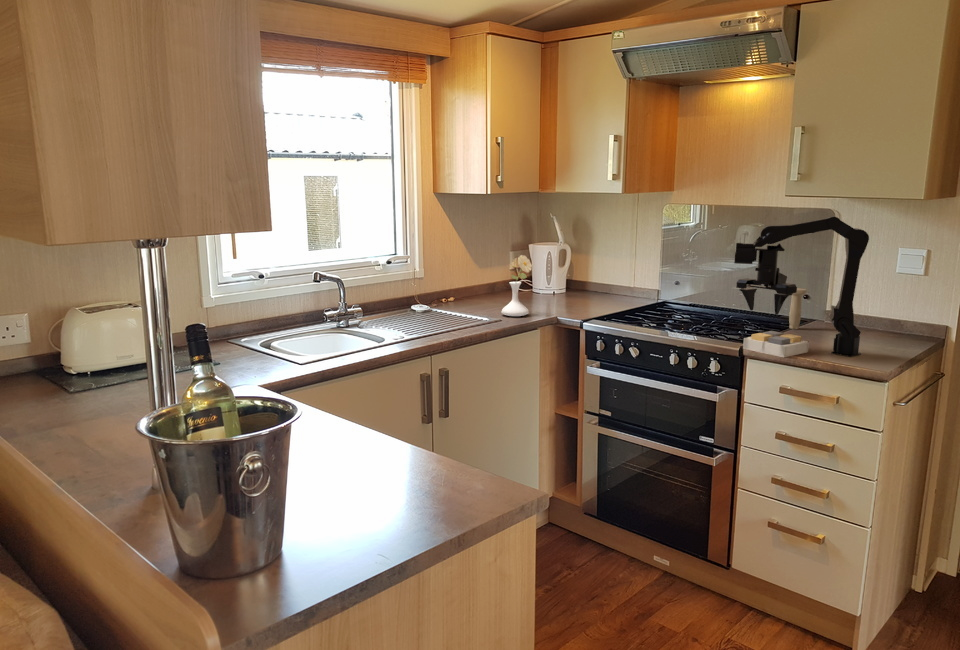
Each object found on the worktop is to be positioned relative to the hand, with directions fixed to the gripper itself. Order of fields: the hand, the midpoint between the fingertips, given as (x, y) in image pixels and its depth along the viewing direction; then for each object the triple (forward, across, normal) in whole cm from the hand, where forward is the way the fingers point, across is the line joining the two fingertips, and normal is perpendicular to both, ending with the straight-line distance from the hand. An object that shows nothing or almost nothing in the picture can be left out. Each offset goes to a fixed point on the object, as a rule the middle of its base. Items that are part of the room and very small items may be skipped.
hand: (763, 312), depth 239 cm
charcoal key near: (+10, -7, +1) cm, 13 cm away
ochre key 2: (+10, -7, -4) cm, 13 cm away
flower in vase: (+12, +96, +28) cm, 100 cm away
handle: (+12, +13, -40) cm, 44 cm away
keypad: (+12, -4, -2) cm, 13 cm away
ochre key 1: (+10, -1, +1) cm, 10 cm away
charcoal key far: (+10, -1, -5) cm, 11 cm away
